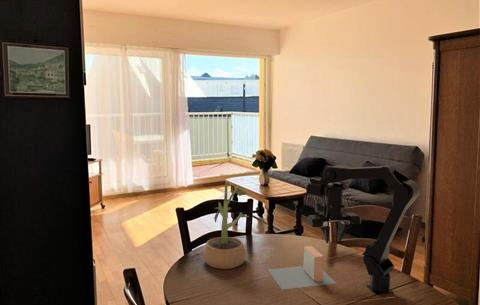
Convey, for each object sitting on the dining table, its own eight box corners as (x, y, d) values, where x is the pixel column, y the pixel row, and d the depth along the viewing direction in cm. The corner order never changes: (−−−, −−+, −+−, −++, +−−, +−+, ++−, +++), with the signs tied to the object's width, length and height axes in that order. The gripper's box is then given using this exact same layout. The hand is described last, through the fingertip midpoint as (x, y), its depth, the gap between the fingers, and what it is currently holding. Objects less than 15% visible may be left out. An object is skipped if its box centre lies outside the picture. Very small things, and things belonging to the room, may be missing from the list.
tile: (322, 280, 137) (323, 256, 136) (313, 281, 137) (314, 256, 135) (310, 268, 147) (311, 245, 146) (302, 269, 146) (303, 246, 145)
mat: (336, 284, 135) (336, 283, 135) (281, 290, 131) (281, 289, 131) (317, 265, 151) (317, 264, 151) (267, 270, 146) (267, 269, 146)
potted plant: (248, 271, 145) (249, 192, 141) (200, 270, 146) (199, 191, 142) (249, 248, 168) (250, 179, 164) (207, 247, 168) (207, 179, 164)
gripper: (347, 193, 150) (345, 233, 152) (301, 196, 146) (300, 236, 148) (362, 201, 139) (360, 243, 141) (313, 204, 135) (312, 247, 137)
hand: (332, 242), depth 142 cm, fingers open, 4 cm apart
